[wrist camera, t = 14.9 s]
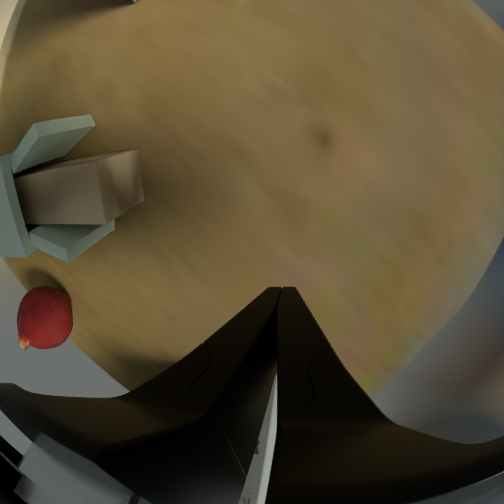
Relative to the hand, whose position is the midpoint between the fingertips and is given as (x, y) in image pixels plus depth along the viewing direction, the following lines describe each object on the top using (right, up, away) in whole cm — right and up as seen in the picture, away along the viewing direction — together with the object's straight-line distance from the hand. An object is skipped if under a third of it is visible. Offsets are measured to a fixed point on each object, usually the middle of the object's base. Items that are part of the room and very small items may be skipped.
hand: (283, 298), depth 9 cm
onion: (-20, -3, +16) cm, 25 cm away
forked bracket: (-18, +7, +10) cm, 22 cm away
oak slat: (-14, +7, +9) cm, 18 cm away
